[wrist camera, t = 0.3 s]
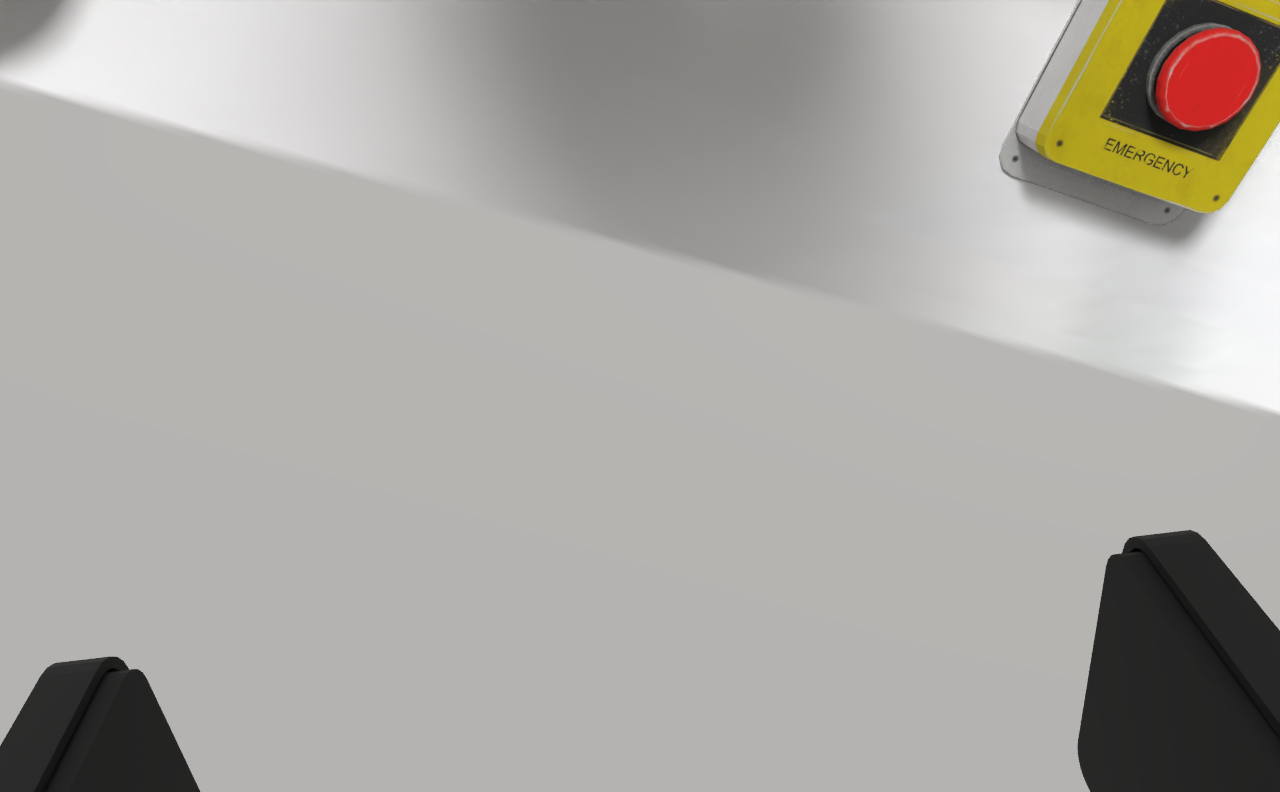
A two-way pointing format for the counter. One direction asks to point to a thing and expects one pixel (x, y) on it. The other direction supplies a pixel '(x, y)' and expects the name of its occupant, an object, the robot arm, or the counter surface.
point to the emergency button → (1152, 105)
